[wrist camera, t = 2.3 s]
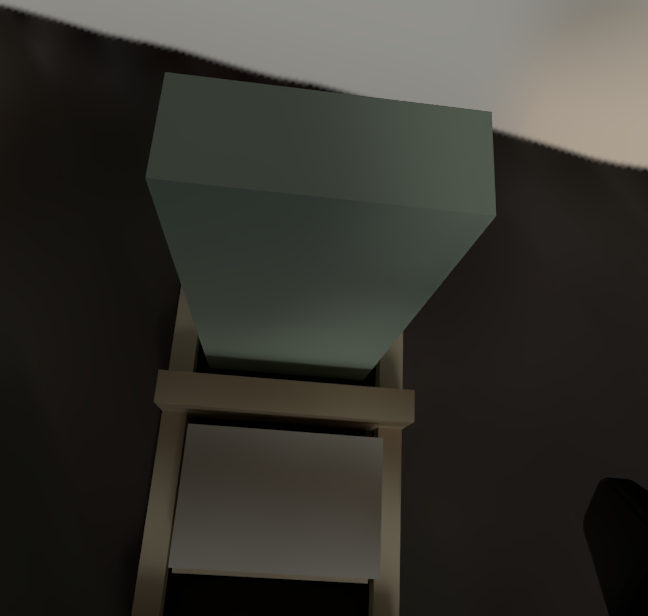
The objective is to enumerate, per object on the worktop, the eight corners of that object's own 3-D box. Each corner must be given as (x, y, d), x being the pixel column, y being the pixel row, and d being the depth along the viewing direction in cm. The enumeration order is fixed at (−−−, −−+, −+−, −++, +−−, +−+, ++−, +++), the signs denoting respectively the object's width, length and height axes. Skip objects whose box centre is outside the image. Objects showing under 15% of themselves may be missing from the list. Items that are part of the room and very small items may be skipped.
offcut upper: (370, 574, 18) (379, 579, 17) (175, 563, 18) (167, 567, 16) (374, 443, 20) (383, 438, 18) (193, 430, 19) (187, 423, 18)
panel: (363, 380, 21) (496, 215, 9) (209, 368, 21) (145, 177, 9) (365, 327, 22) (491, 112, 10) (215, 314, 21) (165, 72, 10)
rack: (392, 677, 18) (412, 702, 16) (128, 667, 17) (108, 691, 15) (399, 287, 22) (415, 260, 20) (187, 266, 22) (179, 237, 19)
